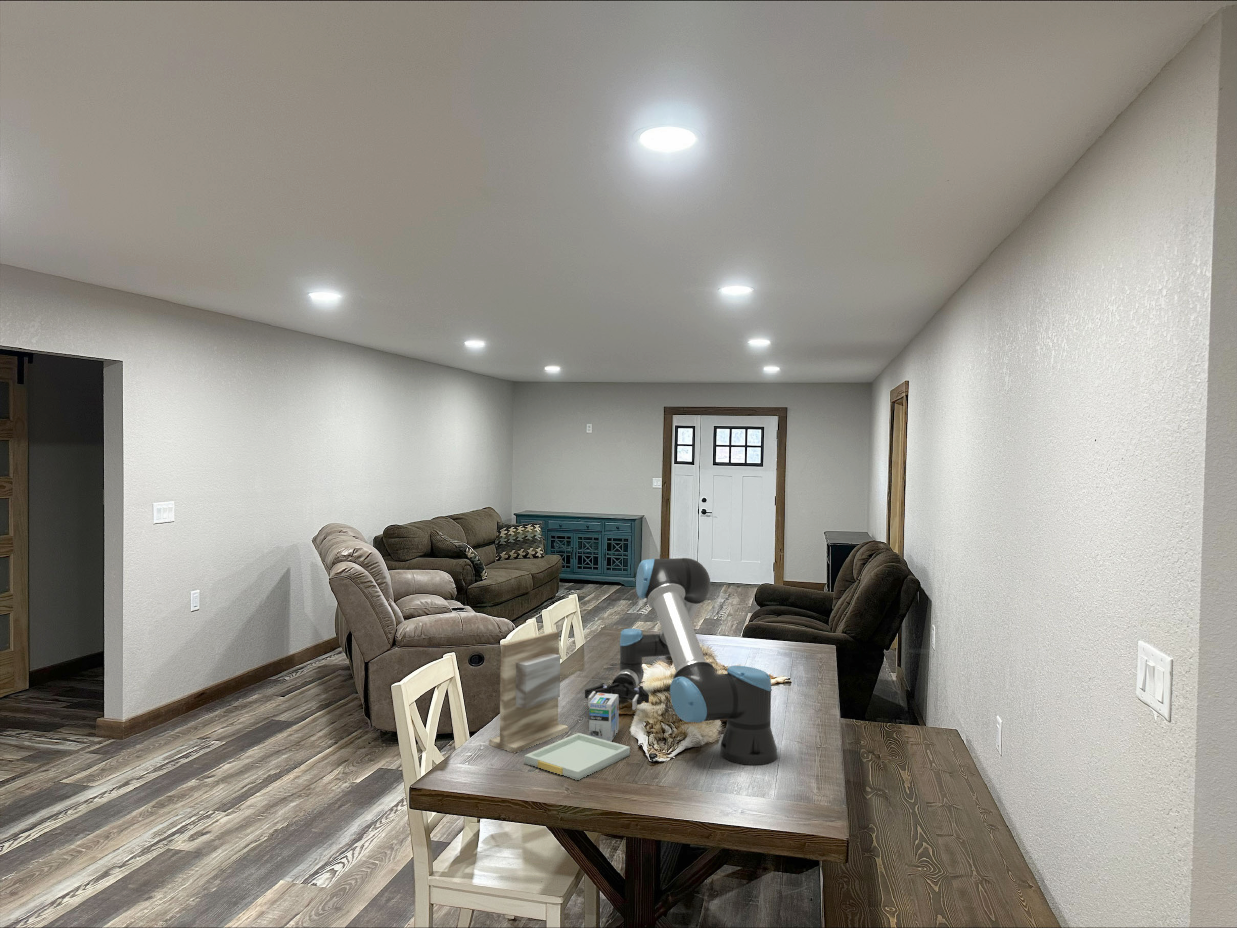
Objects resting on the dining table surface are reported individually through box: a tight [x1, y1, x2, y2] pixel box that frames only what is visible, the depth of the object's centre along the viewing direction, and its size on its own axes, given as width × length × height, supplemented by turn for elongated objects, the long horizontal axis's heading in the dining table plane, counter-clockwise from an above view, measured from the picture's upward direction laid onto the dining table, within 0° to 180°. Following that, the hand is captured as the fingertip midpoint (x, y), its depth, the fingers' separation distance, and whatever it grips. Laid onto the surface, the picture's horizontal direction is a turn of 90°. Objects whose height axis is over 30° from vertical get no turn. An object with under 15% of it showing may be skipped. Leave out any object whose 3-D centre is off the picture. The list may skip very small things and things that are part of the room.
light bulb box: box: [588, 693, 620, 742], centre depth 232 cm, size 11×7×11 cm, turn 168°
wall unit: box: [488, 630, 569, 754], centre depth 229 cm, size 10×22×28 cm, turn 143°
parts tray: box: [523, 732, 631, 781], centre depth 213 cm, size 18×22×2 cm
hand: (611, 703), depth 241 cm, fingers open, 13 cm apart
